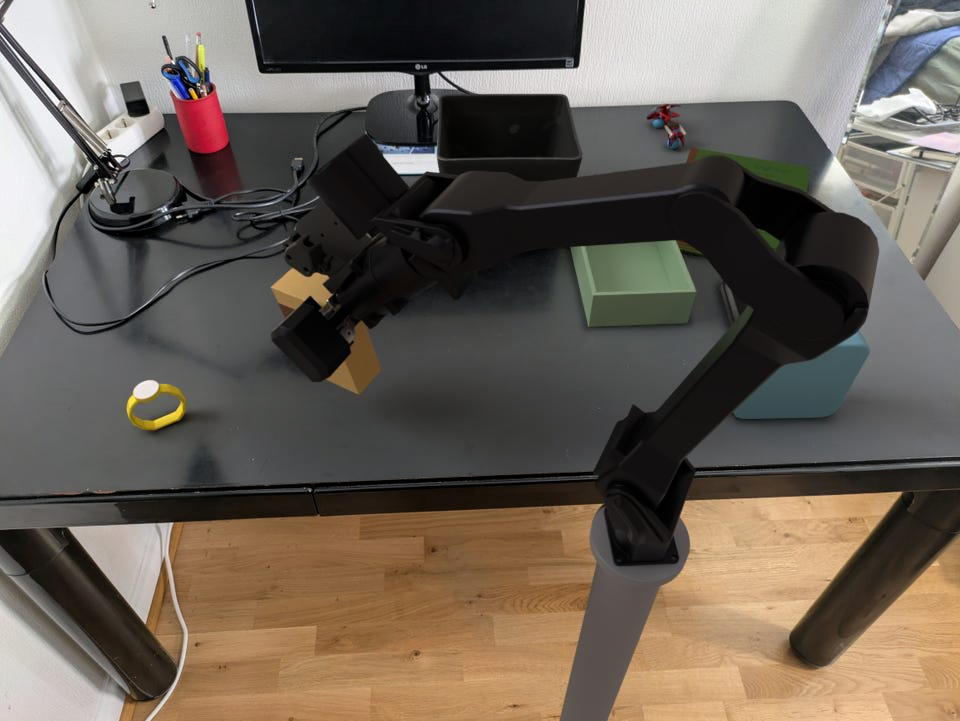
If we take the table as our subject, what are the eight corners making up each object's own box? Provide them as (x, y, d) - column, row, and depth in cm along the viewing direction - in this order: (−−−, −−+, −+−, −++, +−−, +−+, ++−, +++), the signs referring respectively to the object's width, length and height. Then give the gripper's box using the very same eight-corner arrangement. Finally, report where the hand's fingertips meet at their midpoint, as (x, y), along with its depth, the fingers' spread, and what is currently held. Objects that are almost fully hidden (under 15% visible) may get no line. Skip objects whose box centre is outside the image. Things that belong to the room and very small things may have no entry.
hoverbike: (666, 120, 130) (671, 90, 126) (689, 151, 122) (696, 121, 118) (639, 122, 130) (644, 93, 125) (661, 154, 121) (667, 124, 117)
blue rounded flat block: (819, 389, 83) (858, 315, 74) (833, 418, 80) (876, 344, 71) (720, 390, 83) (747, 317, 74) (730, 420, 80) (760, 346, 71)
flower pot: (558, 190, 113) (567, 90, 101) (572, 261, 100) (584, 156, 88) (443, 192, 113) (438, 93, 101) (442, 264, 100) (436, 159, 88)
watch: (189, 405, 82) (172, 370, 78) (194, 421, 80) (177, 386, 76) (136, 424, 80) (116, 389, 76) (140, 440, 78) (120, 406, 74)
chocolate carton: (382, 369, 76) (350, 281, 66) (359, 395, 74) (322, 308, 64) (335, 349, 79) (297, 262, 70) (311, 373, 77) (269, 287, 68)
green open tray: (687, 323, 91) (696, 291, 87) (588, 327, 91) (592, 295, 87) (652, 229, 106) (658, 198, 102) (566, 232, 105) (569, 201, 101)
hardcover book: (686, 167, 118) (691, 147, 116) (801, 187, 113) (809, 167, 111) (659, 250, 102) (663, 229, 99) (792, 278, 97) (800, 256, 95)
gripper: (393, 145, 64) (318, 216, 75) (262, 256, 52) (196, 319, 64) (470, 238, 67) (386, 292, 78) (362, 362, 55) (282, 404, 67)
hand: (318, 322), depth 72 cm, fingers closed on chocolate carton, 4 cm apart
